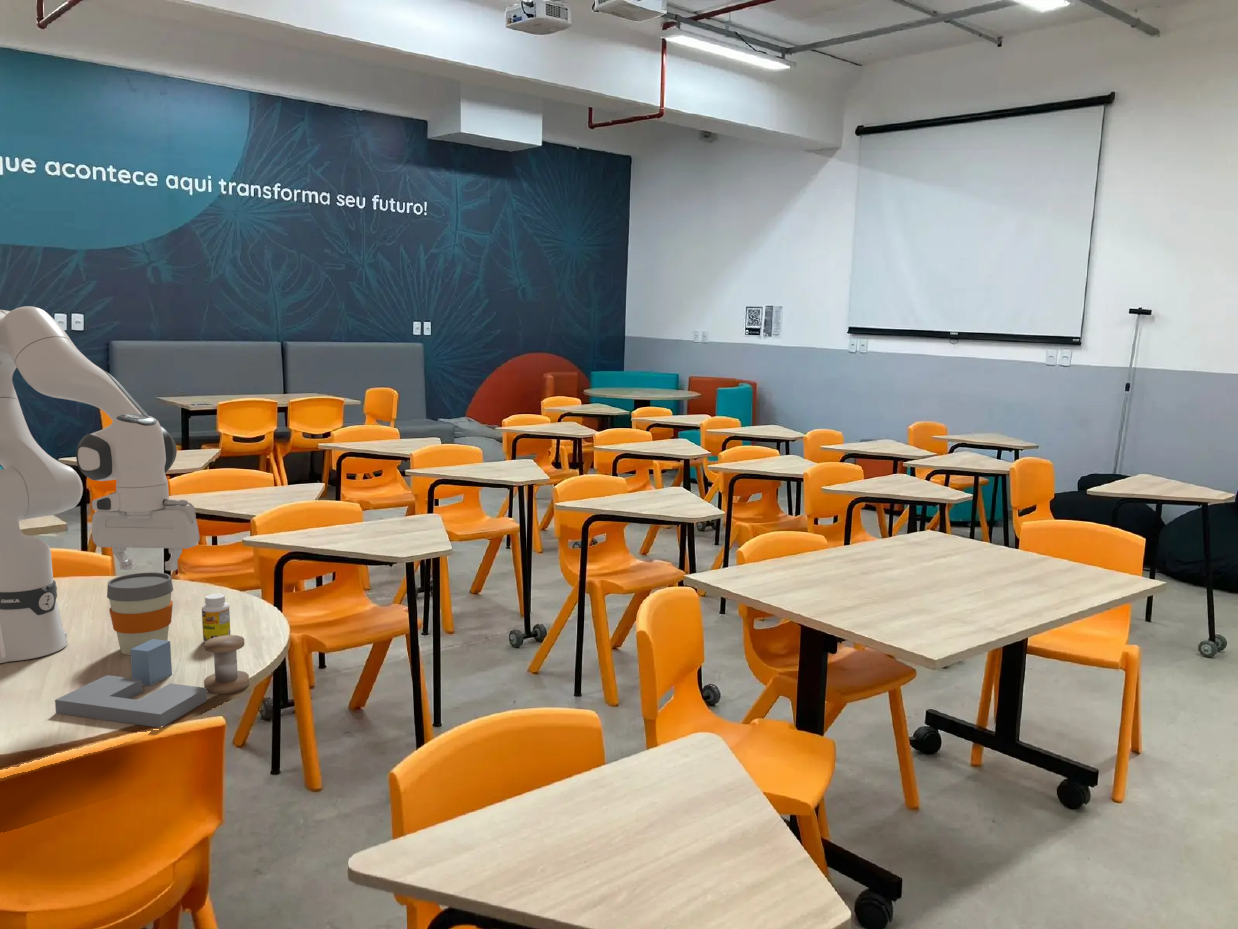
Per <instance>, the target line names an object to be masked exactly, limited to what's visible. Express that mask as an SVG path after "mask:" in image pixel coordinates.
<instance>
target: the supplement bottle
mask: <svg viewBox="0 0 1238 929" xmlns="http://www.w3.org/2000/svg"><path fill="white" fill-rule="evenodd" d="M225 596H226V595H225V594H224V593H211V594H208V595H206V596H205V597H204V603H205V604H203V605H202V607H201V620H202V637H203V638H202V639H203V642H204V643H205V642H206V641H207V640H209V639H211V638H214V637H219V636H225V635H232V633H231V616H230V614H231V613H230V604H229V603H228V602H227V601H226V597H225Z"/></svg>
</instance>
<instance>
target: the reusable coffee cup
mask: <svg viewBox="0 0 1238 929" xmlns="http://www.w3.org/2000/svg"><path fill="white" fill-rule="evenodd" d="M173 591H174V586H173V581H172V576H171V575H170V574H168V573H165V572H157V571H156V572H155V571H154V572H153V571H152V572H151V571H148V572H137V573H136V572H135V573H130V574H125V575H120V576H117V577H114V578H112V579H110V580H108V582H107V591H106V592H107V593H106V598H107V599H108V600H109V604H110V608H109V615H110V618H111V619H110V620H111V624H112V629H113V631H114V632H116V637H117V641H118V647H119V650H120V653H122V654H123V655H128V656H131V651H130V649H132V648H134V647H136V646H139V645H141V644H143V643H145V642H147V641H150V640H152V639H157V640H166V641H169V638H168V637H169V628H170V627H169V626H170V625H171V623H172V614H173V605H174V602H173V600H172V592H173Z"/></svg>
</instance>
